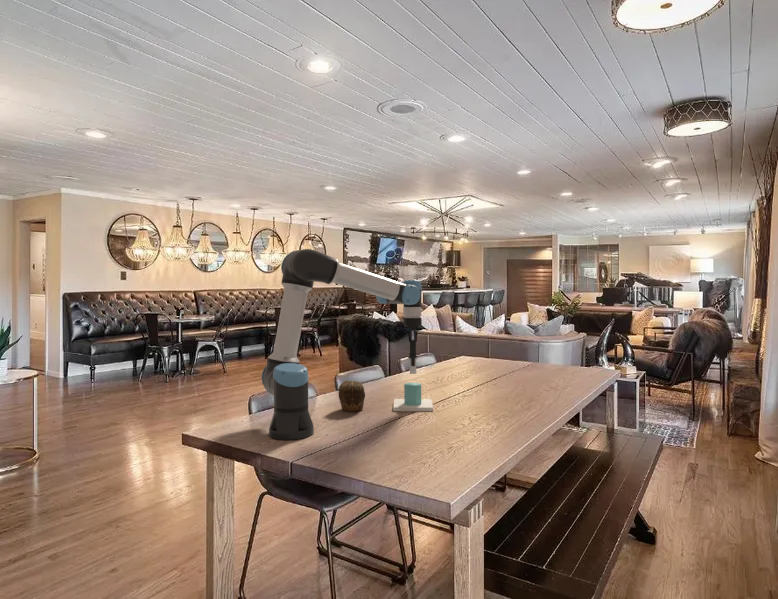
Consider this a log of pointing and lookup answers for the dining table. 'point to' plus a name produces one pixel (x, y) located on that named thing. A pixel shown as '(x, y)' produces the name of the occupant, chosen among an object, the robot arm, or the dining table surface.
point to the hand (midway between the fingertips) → (413, 373)
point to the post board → (425, 405)
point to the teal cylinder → (412, 394)
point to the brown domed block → (351, 396)
